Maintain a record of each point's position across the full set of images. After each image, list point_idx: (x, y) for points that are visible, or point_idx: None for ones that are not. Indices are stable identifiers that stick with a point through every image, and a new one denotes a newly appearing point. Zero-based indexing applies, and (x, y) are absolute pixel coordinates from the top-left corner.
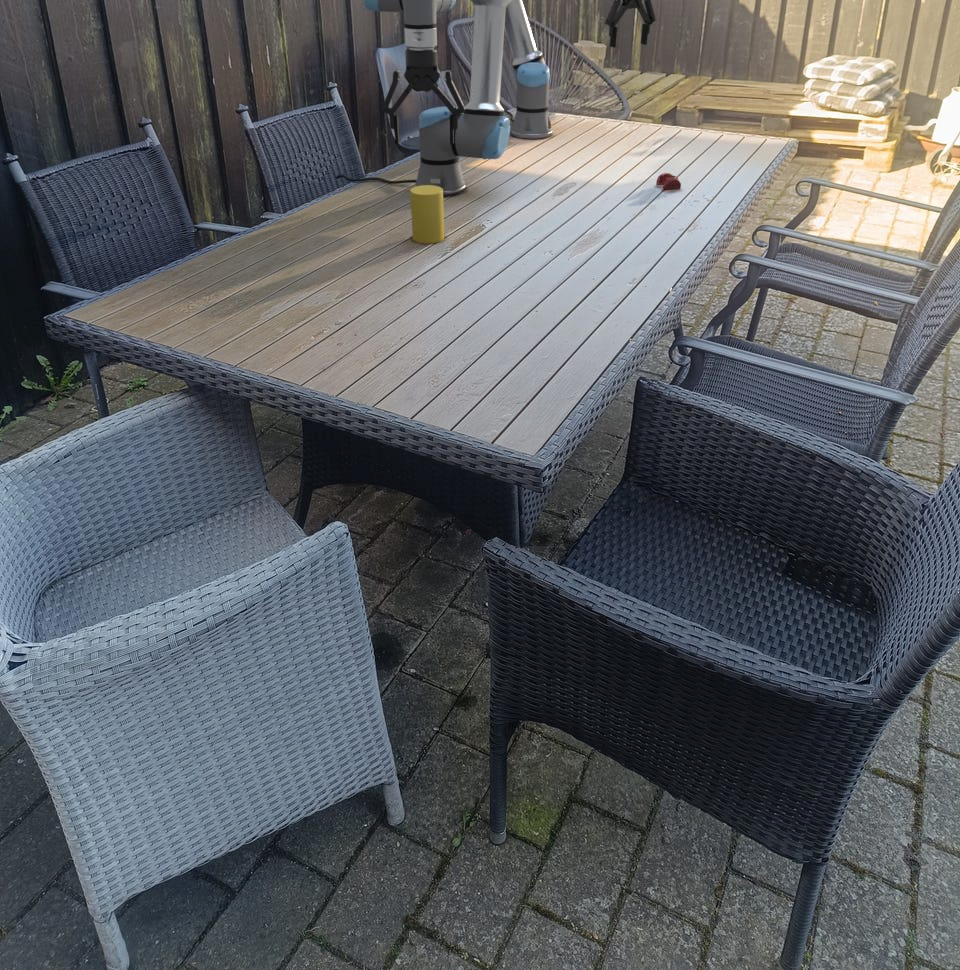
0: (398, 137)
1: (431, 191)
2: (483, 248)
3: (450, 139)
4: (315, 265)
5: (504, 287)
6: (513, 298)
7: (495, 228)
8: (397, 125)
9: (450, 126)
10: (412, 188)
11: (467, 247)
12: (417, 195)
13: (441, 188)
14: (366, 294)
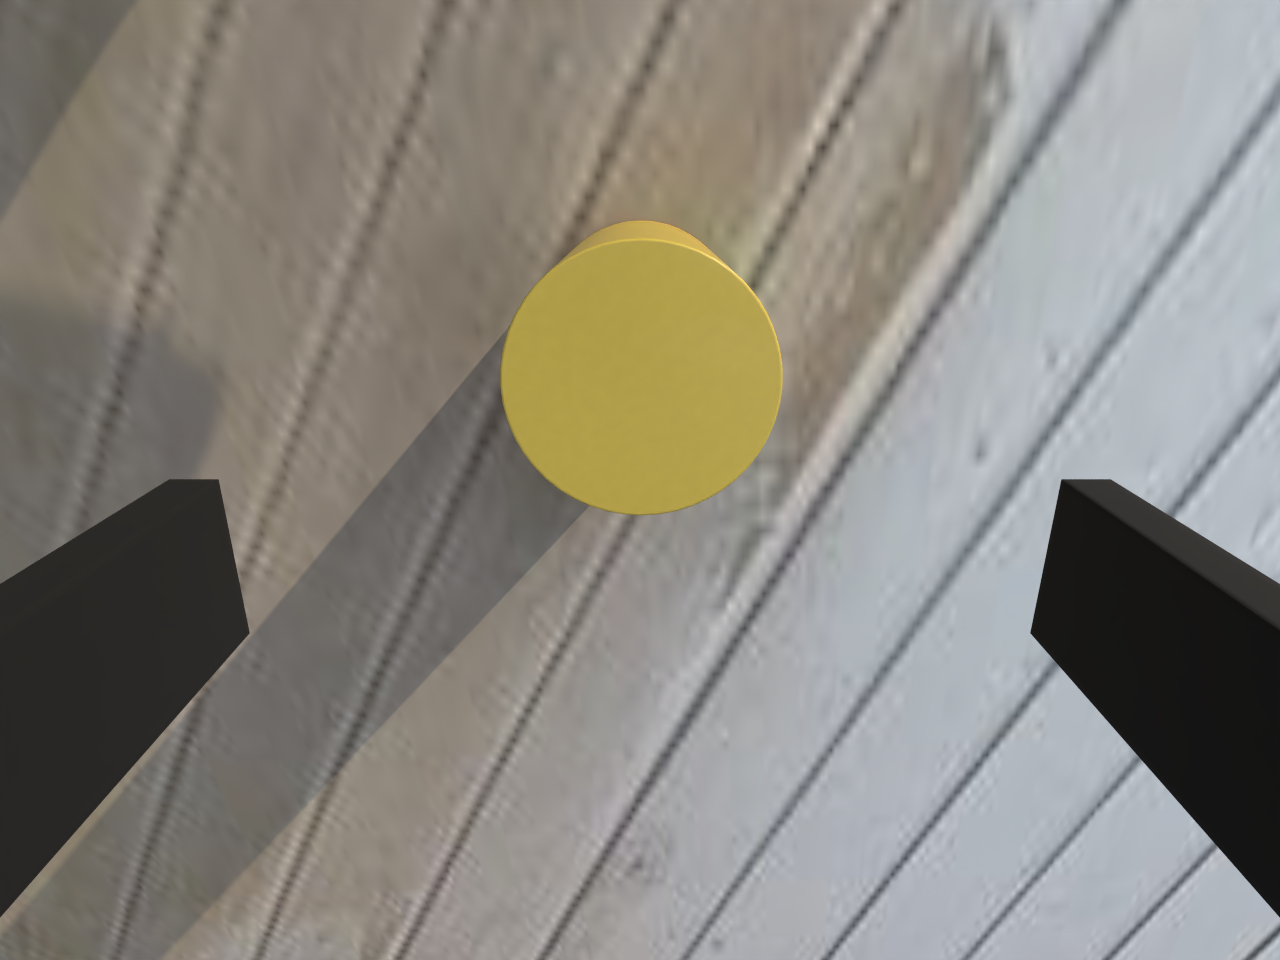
0: (196, 631)
1: (686, 428)
2: (950, 466)
3: (1074, 676)
4: None
5: (987, 870)
6: (1005, 947)
7: (1070, 110)
8: (66, 817)
9: (1218, 825)
10: (512, 350)
11: (864, 455)
12: (577, 496)
13: (769, 340)
14: (463, 934)
